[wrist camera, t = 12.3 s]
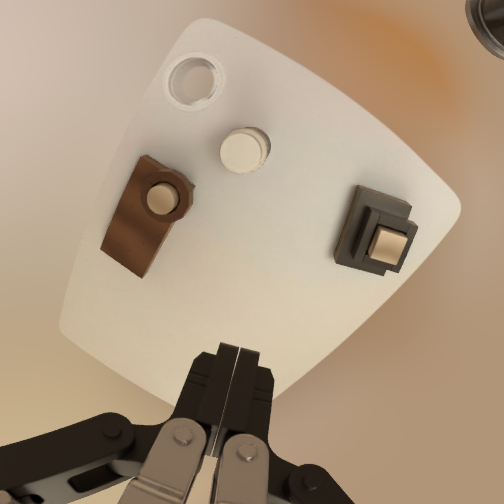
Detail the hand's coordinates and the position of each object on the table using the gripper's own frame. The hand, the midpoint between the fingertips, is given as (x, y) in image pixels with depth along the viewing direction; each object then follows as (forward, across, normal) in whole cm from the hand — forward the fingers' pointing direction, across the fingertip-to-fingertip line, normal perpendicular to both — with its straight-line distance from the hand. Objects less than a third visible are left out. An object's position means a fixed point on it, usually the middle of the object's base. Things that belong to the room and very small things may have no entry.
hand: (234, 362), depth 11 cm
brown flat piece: (+29, +17, +8) cm, 35 cm away
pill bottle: (+29, +4, -4) cm, 30 cm away
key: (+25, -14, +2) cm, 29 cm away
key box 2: (+29, -13, +2) cm, 32 cm away
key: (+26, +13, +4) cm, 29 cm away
